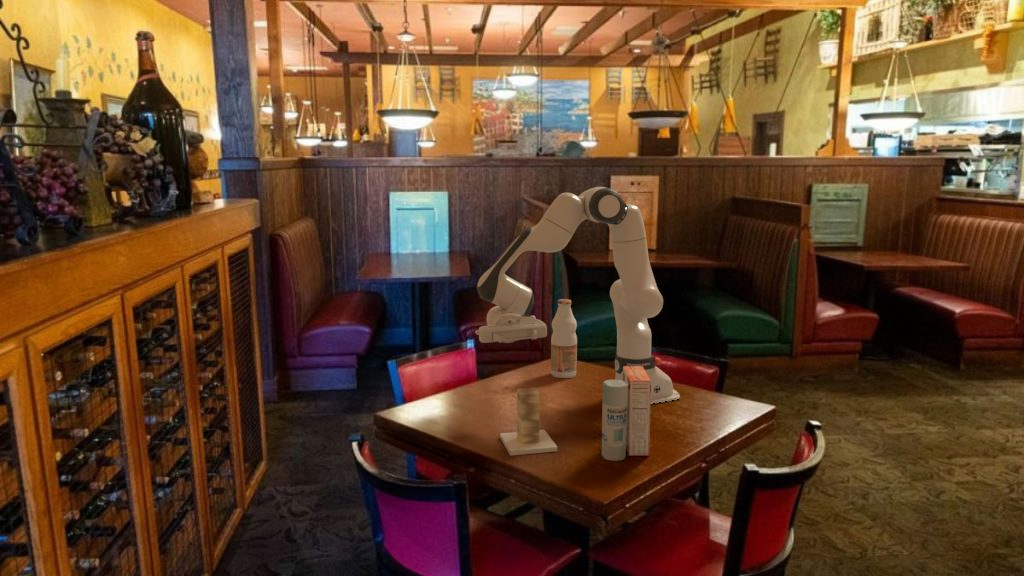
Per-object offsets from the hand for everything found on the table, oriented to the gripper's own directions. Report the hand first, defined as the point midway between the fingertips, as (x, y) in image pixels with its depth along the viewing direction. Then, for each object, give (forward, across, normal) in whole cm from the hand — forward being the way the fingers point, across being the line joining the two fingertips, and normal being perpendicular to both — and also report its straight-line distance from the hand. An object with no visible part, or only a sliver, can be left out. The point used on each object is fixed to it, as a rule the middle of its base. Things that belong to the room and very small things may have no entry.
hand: (518, 338), depth 201 cm
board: (+12, -1, +27) cm, 30 cm away
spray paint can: (+25, +19, +28) cm, 42 cm away
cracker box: (+20, +27, +28) cm, 44 cm away
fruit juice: (-49, +28, +28) cm, 63 cm away
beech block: (+12, -1, +26) cm, 29 cm away
